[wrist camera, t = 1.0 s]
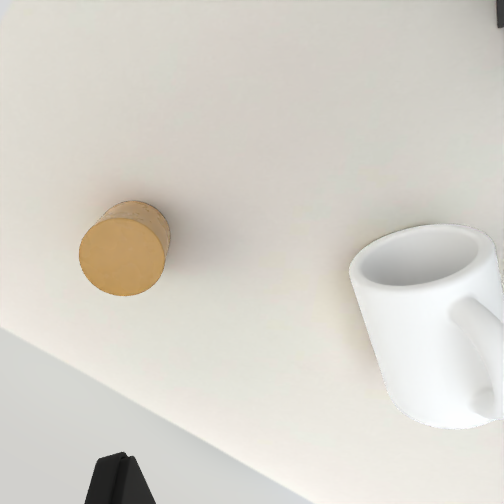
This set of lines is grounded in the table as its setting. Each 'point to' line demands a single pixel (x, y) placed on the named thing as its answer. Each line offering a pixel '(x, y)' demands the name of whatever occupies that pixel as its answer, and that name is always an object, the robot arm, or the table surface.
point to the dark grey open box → (500, 13)
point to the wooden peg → (126, 249)
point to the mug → (436, 322)
